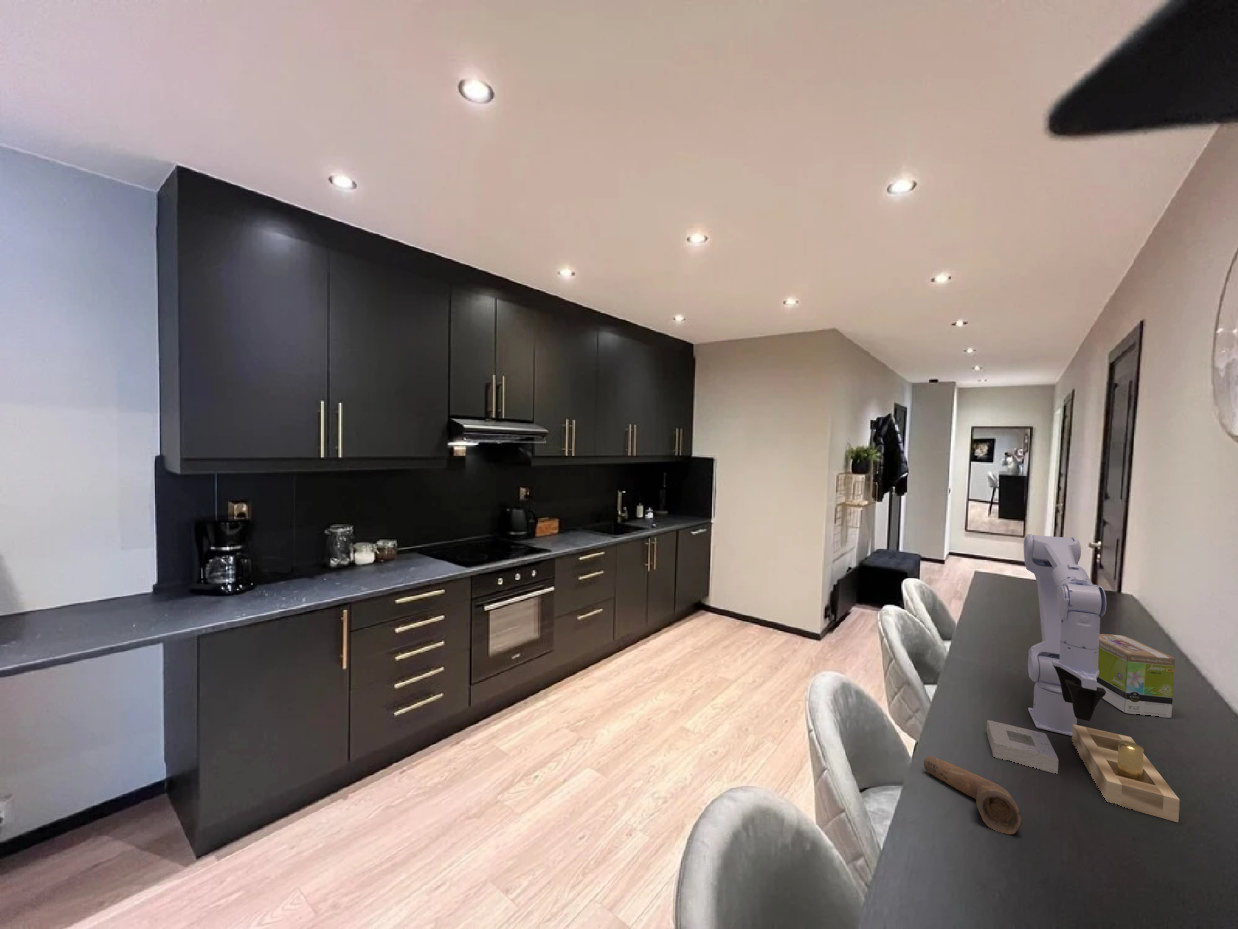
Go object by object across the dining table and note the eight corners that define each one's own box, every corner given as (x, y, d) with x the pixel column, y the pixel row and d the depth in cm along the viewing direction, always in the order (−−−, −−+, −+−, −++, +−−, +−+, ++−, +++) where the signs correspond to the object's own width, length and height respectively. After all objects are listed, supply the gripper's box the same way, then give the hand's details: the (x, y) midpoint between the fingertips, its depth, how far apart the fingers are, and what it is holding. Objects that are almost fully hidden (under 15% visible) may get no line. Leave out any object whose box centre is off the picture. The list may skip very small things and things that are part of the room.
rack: (1071, 742, 106) (1072, 724, 106) (1129, 756, 101) (1130, 737, 101) (1106, 802, 88) (1107, 781, 88) (1178, 822, 83) (1179, 799, 83)
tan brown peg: (1113, 785, 93) (1115, 738, 92) (1137, 791, 91) (1139, 744, 91) (1119, 795, 90) (1122, 747, 90) (1144, 802, 88) (1146, 753, 88)
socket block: (986, 733, 109) (987, 719, 109) (1045, 747, 104) (1045, 733, 104) (993, 757, 100) (994, 743, 100) (1057, 774, 95) (1058, 759, 95)
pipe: (933, 742, 98) (909, 751, 92) (1038, 790, 84) (1018, 804, 79) (929, 775, 97) (905, 786, 92) (1035, 828, 84) (1014, 845, 78)
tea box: (1174, 719, 116) (1177, 657, 115) (1123, 714, 118) (1126, 653, 117) (1122, 688, 130) (1125, 634, 130) (1078, 684, 132) (1081, 630, 132)
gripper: (1044, 629, 107) (1042, 690, 108) (1063, 651, 95) (1060, 720, 95) (1087, 636, 104) (1085, 699, 104) (1113, 659, 91) (1109, 732, 92)
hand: (1076, 710), depth 99 cm, fingers open, 7 cm apart
